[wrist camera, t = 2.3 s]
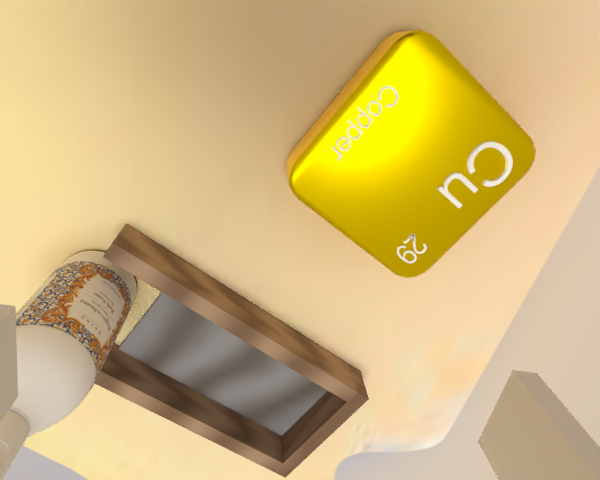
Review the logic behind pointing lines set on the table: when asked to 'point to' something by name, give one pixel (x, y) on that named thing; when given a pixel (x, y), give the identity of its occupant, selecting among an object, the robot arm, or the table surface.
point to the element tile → (409, 154)
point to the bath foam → (64, 344)
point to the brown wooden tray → (225, 364)
